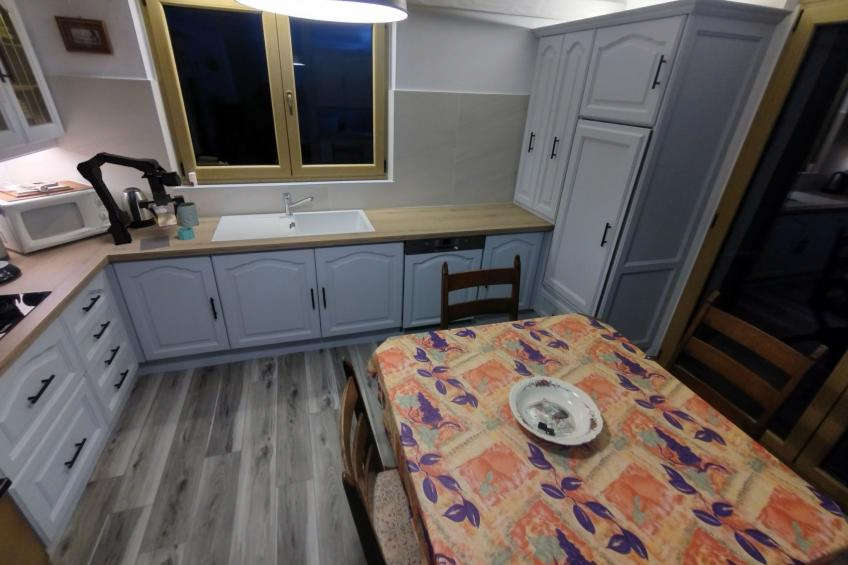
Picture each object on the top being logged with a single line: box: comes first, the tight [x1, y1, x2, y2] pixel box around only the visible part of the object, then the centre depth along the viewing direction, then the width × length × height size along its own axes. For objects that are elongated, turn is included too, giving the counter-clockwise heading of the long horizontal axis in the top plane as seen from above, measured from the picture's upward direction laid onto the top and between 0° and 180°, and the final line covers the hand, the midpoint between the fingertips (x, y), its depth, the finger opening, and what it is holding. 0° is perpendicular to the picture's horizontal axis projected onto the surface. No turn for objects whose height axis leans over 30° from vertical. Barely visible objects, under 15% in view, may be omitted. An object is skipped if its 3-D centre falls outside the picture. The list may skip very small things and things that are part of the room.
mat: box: [139, 234, 171, 252], centre depth 190 cm, size 12×17×1 cm
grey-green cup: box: [177, 201, 200, 228], centre depth 212 cm, size 10×10×12 cm
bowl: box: [176, 227, 196, 241], centre depth 196 cm, size 7×7×5 cm
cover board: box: [158, 210, 178, 226], centre depth 189 cm, size 7×14×2 cm, turn 32°
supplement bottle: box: [153, 204, 172, 230], centre depth 208 cm, size 7×7×13 cm
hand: (167, 218), depth 189 cm, fingers closed on cover board, 7 cm apart
